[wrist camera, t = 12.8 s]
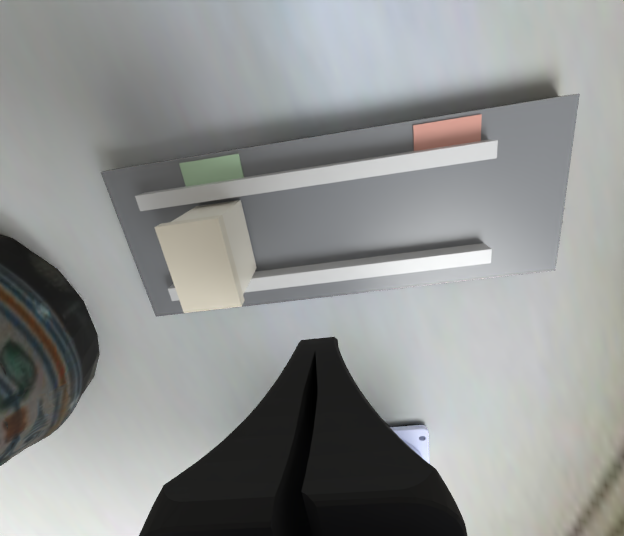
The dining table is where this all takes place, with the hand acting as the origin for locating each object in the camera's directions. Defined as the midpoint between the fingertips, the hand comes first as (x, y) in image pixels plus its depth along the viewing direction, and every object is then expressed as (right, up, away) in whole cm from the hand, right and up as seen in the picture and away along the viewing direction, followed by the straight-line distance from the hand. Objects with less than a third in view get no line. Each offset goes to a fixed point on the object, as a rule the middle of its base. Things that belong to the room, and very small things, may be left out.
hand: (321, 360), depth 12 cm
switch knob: (-5, +5, +6) cm, 10 cm away
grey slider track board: (+1, +6, +7) cm, 10 cm away
